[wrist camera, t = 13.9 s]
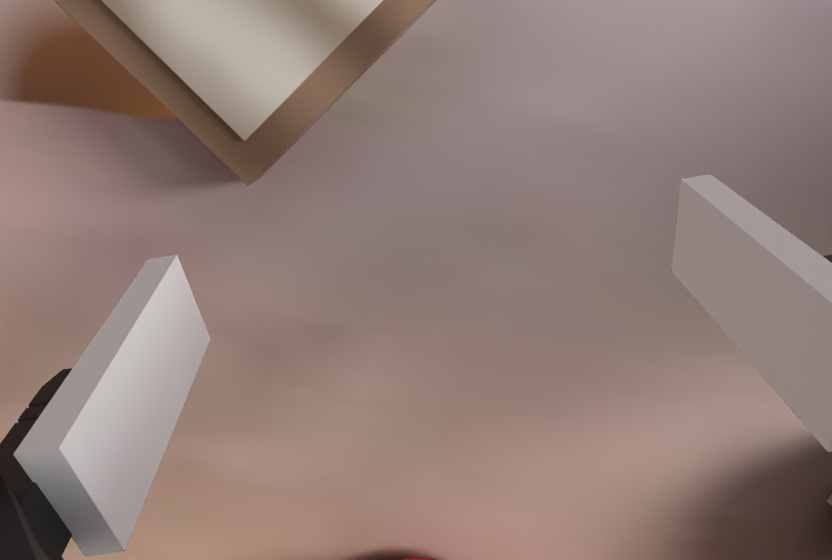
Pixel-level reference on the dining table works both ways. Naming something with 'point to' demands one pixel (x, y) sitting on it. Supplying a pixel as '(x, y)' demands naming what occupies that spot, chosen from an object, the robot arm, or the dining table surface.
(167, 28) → the stand
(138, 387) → the robot arm
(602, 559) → the dining table surface
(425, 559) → the plant pot
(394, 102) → the dining table surface
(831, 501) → the circuit breaker
